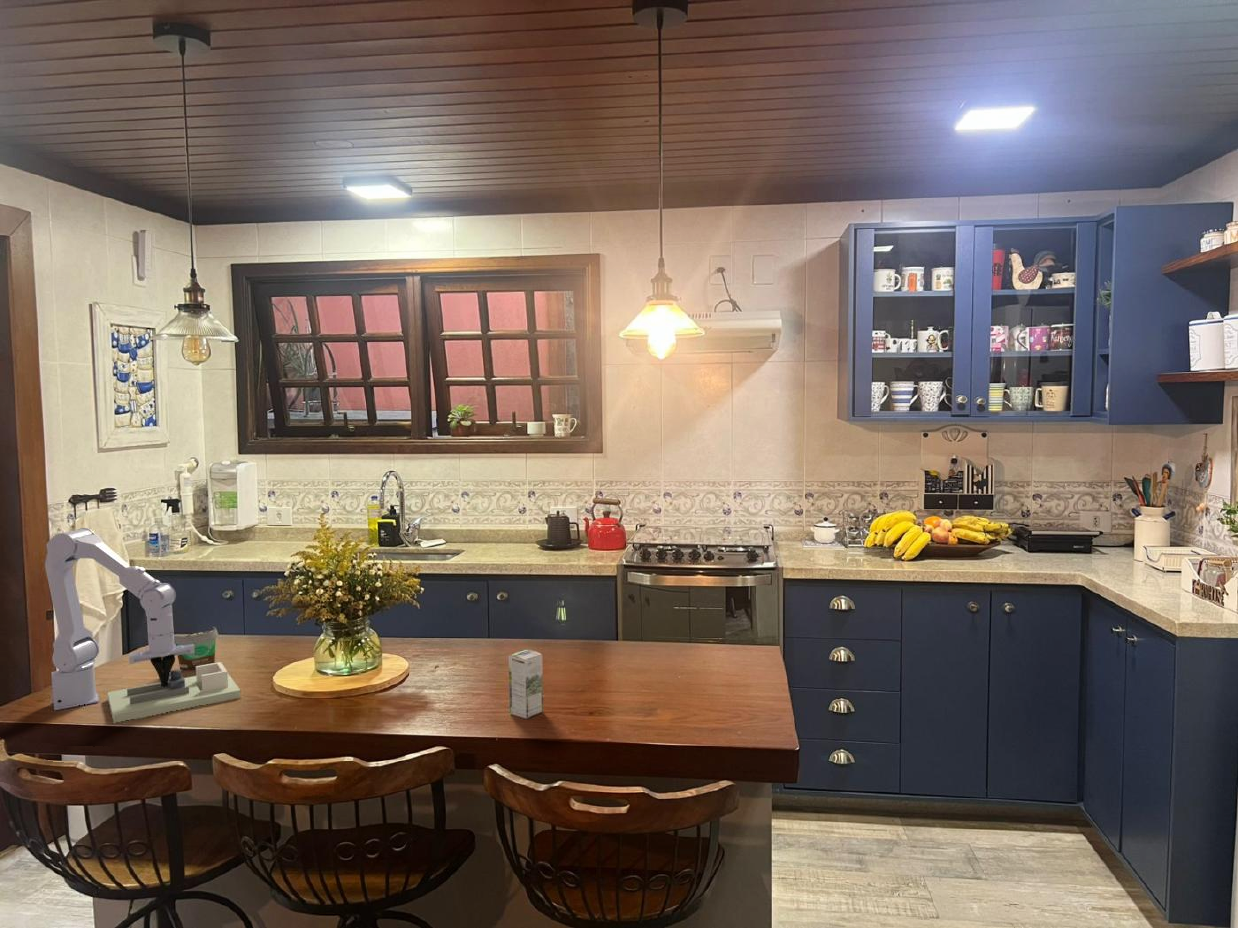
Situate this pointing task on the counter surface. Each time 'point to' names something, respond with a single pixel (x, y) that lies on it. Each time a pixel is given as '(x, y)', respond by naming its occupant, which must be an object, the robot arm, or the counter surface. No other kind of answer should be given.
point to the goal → (212, 676)
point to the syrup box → (526, 683)
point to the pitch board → (165, 698)
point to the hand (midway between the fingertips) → (164, 685)
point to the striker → (176, 679)
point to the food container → (197, 649)
